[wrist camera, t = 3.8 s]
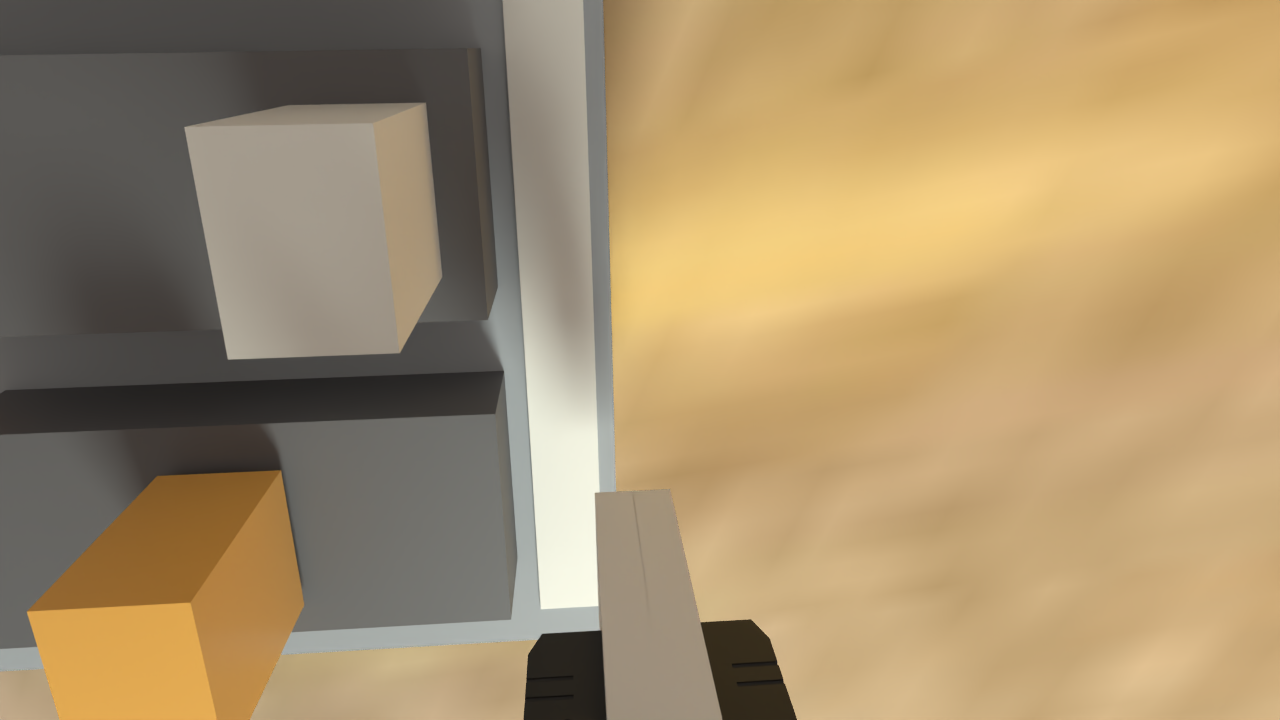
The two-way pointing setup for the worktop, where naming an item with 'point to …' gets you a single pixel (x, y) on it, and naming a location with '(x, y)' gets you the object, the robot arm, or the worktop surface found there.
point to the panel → (314, 297)
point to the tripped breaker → (175, 604)
